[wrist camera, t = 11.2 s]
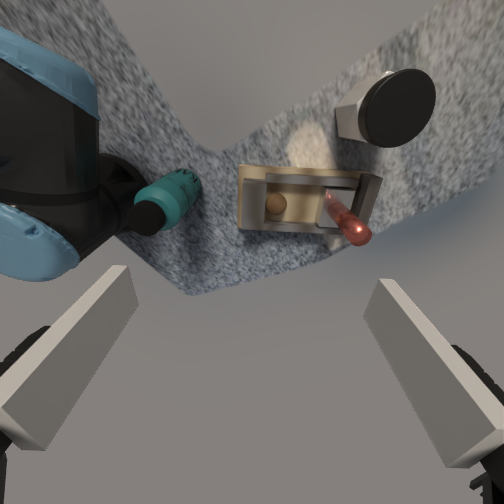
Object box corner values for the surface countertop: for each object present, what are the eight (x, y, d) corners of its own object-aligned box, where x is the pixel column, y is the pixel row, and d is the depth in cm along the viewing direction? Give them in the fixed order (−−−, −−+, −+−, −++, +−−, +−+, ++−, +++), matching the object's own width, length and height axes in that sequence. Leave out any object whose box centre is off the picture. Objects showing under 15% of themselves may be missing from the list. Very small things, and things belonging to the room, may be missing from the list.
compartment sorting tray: (238, 223, 48) (235, 238, 42) (239, 164, 42) (236, 171, 35) (349, 229, 48) (363, 245, 42) (367, 171, 42) (385, 180, 36)
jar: (352, 153, 40) (385, 164, 30) (323, 118, 38) (349, 117, 27) (397, 109, 37) (453, 105, 26) (369, 67, 34) (418, 44, 24)
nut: (266, 209, 44) (262, 217, 41) (268, 189, 42) (264, 195, 39) (286, 212, 44) (284, 219, 40) (289, 192, 42) (287, 198, 38)
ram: (314, 220, 45) (336, 257, 33) (322, 185, 41) (349, 211, 29) (339, 221, 45) (370, 259, 33) (349, 186, 41) (387, 213, 29)
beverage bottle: (185, 205, 46) (142, 256, 28) (163, 176, 43) (101, 213, 26) (211, 189, 44) (182, 233, 27) (190, 158, 41) (142, 184, 24)
